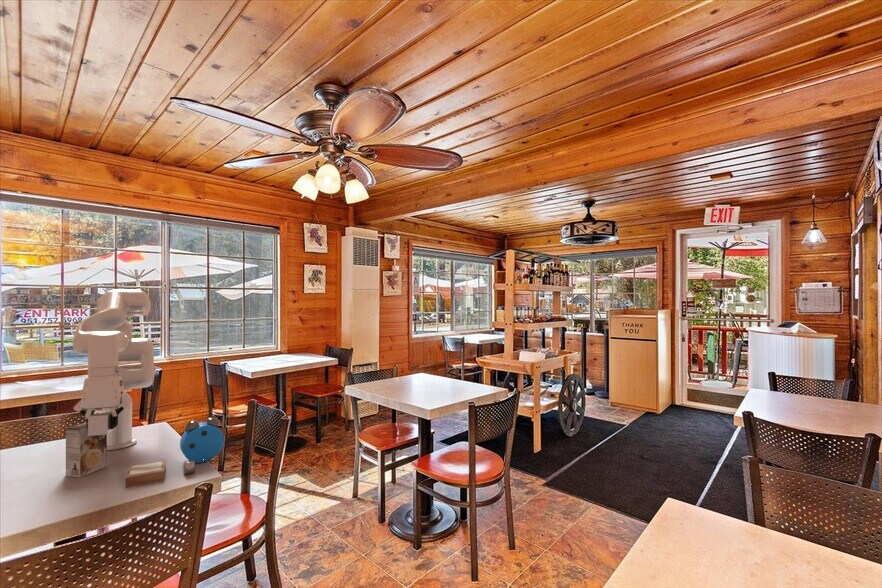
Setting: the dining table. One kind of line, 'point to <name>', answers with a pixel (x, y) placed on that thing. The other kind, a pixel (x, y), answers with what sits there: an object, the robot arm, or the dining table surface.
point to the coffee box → (84, 451)
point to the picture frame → (145, 474)
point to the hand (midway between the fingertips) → (102, 428)
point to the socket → (189, 467)
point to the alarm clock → (202, 440)
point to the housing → (99, 423)
